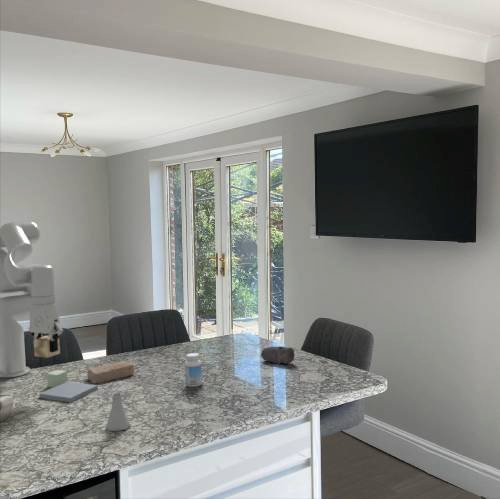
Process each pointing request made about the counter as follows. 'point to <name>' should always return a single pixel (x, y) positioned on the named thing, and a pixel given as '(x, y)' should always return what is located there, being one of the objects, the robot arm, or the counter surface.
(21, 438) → the counter surface
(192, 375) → the pill bottle
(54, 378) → the sage block
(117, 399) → the flask
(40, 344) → the beech block
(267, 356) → the perforated stone tool
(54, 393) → the board
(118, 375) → the brick
